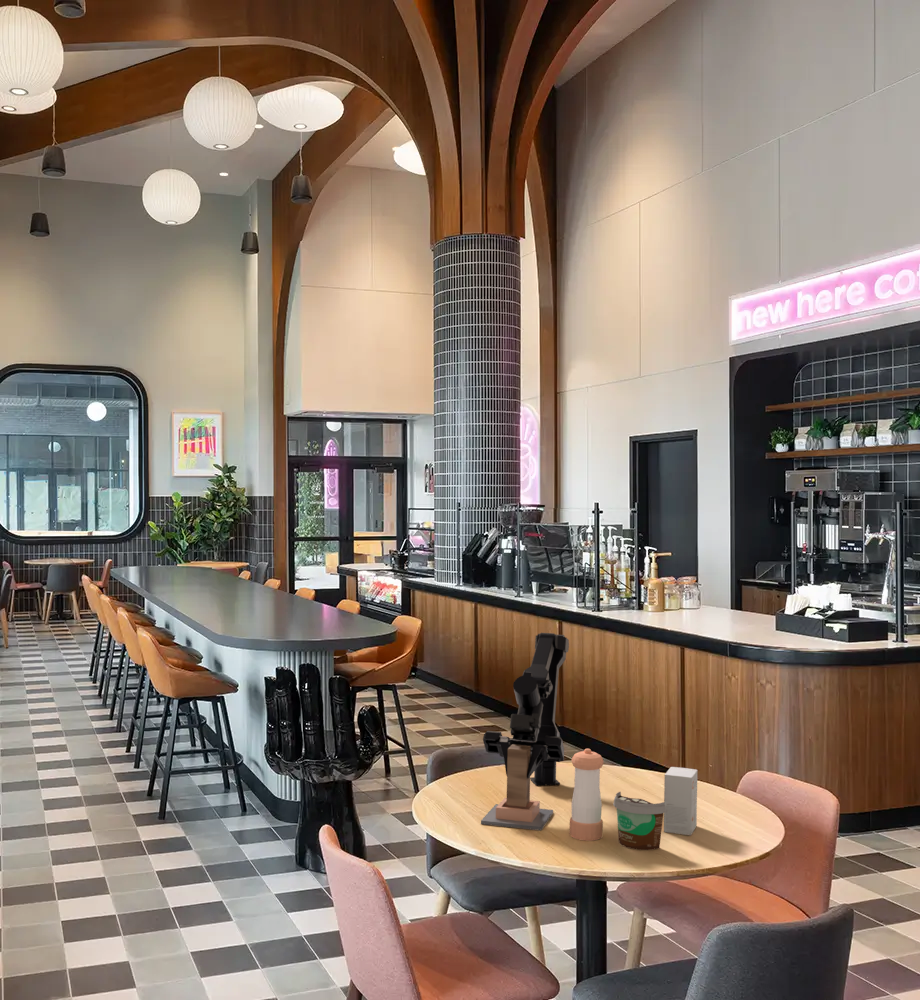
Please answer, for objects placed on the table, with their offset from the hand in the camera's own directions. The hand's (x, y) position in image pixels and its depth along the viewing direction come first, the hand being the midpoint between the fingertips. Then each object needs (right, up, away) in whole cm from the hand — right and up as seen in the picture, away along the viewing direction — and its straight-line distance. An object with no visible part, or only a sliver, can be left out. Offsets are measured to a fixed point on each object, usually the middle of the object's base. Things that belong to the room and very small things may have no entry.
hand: (517, 776), depth 242 cm
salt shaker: (+15, -11, -10) cm, 21 cm away
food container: (+24, -11, -17) cm, 31 cm away
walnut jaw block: (0, -7, +1) cm, 7 cm away
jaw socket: (0, -10, +1) cm, 10 cm away
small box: (+37, -11, -4) cm, 39 cm away
